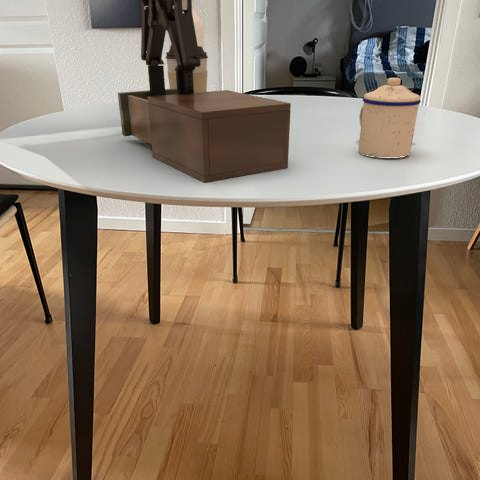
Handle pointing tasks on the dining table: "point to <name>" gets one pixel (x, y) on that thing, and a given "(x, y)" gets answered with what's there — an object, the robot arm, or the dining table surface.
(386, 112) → the teacup with lid
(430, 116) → the dining table surface
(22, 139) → the dining table surface
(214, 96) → the cabinet
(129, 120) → the drawer
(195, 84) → the coffee cup
